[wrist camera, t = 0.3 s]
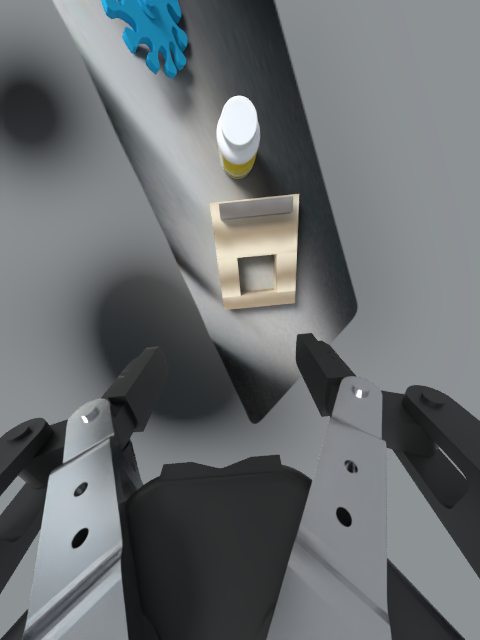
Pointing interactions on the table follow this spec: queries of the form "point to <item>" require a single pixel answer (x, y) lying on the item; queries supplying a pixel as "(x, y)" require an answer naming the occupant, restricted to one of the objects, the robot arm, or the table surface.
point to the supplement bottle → (238, 137)
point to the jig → (257, 246)
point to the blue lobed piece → (152, 30)
